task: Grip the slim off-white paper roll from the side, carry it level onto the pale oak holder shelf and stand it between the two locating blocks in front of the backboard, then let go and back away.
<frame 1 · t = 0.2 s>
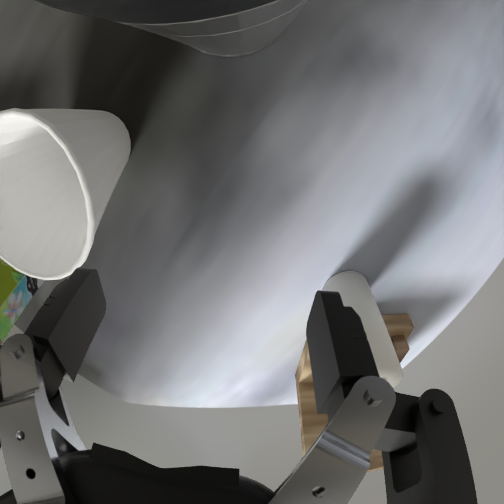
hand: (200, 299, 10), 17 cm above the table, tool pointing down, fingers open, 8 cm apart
tea box: (6, 232, 29), on the table
cup: (99, 144, 24), on the table
roll: (344, 289, 33), on the table
holder: (349, 347, 40), on the table
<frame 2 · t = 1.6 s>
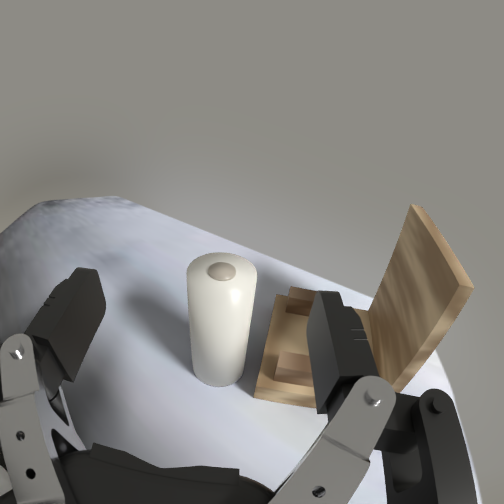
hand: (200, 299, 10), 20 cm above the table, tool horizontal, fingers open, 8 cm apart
roll: (218, 365, 31), on the table
holder: (322, 358, 33), on the table
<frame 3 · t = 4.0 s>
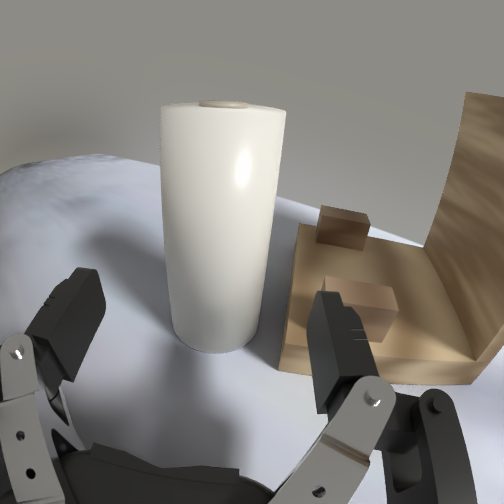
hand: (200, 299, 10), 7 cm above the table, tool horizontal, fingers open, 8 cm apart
roll: (215, 320, 19), on the table
holder: (376, 308, 21), on the table
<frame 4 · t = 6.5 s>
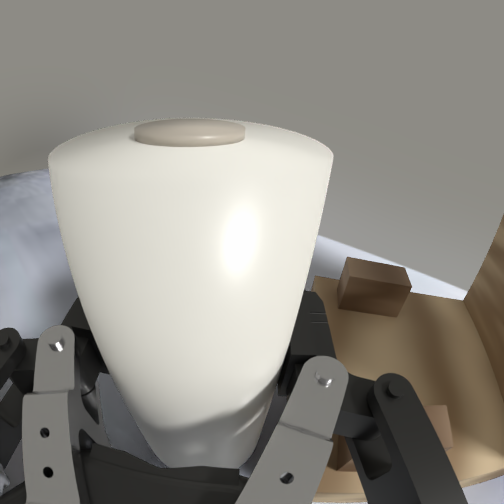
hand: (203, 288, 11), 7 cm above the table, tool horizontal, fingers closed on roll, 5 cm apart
roll: (201, 427, 12), on the table, touching gripper
holder: (409, 392, 14), on the table
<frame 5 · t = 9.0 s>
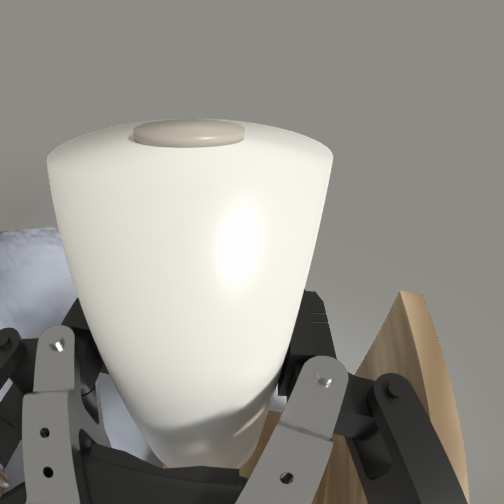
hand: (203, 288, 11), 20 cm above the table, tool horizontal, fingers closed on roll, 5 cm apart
roll: (202, 428, 12), point 13 cm above the table, touching gripper
holder: (249, 485, 19), on the table
when the fingers open (11 cm above the table, at t = 11.5 s): roll drops 1 cm, resting on holder.
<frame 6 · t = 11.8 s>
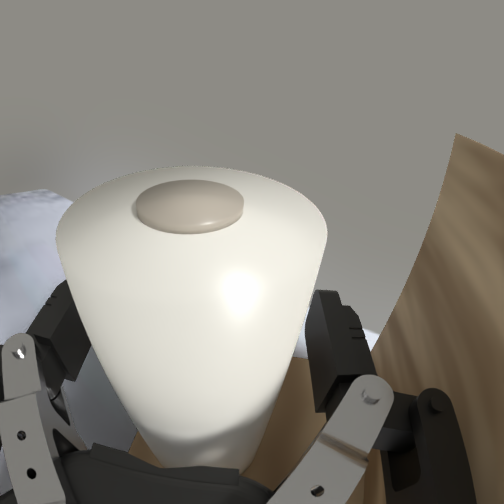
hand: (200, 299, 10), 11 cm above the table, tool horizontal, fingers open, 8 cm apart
roll: (204, 439, 13), point 3 cm above the table, touching holder
holder: (262, 462, 14), on the table
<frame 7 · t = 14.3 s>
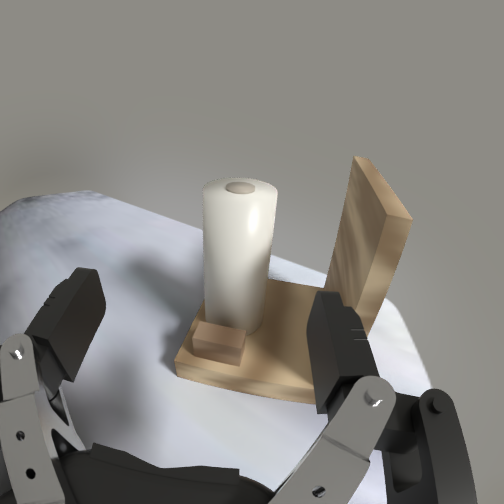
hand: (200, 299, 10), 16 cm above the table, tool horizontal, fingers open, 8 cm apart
roll: (233, 316, 29), point 3 cm above the table, touching holder
holder: (265, 338, 30), on the table
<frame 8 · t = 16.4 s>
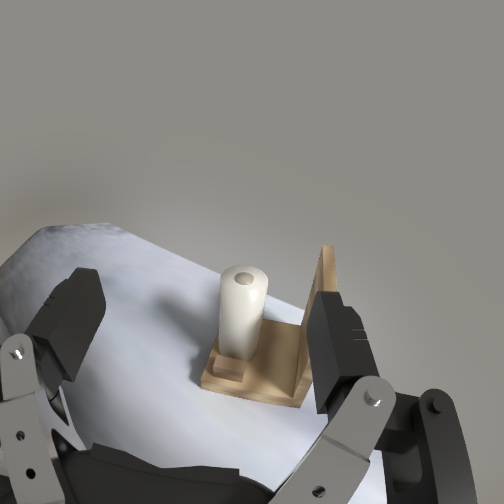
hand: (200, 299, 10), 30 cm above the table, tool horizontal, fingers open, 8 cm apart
cup: (16, 458, 21), on the table
roll: (237, 348, 42), point 3 cm above the table, touching holder
holder: (258, 361, 43), on the table
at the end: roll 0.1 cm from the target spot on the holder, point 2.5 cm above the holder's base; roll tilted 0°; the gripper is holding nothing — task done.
